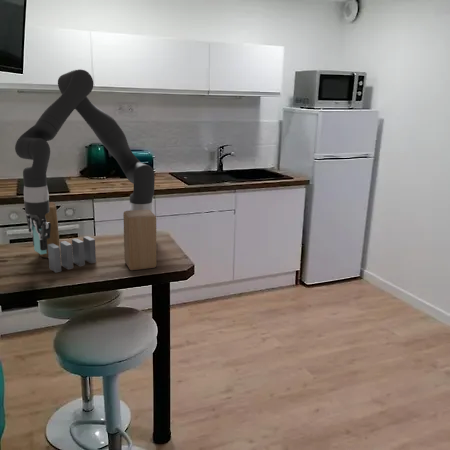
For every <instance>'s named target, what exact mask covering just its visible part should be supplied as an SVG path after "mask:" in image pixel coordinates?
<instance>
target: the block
mask: <svg viewBox="0 0 450 450" xmlns="http://www.w3.org/2000/svg"><path fill="white" fill-rule="evenodd" d="M49 208H50V211H49V213H47V214H46V215H45V217H46V220H47V223H48V222H50V223H51V231H50V238H49V239H47V250H46V252H47V253H46V254H39V256H40V257H41V258H48V259H49V257H48V244H55V245H57V246H59V247H60V235H59V234H60V233H59V232H60V231H59V221H58V211H57V204H56V203H55V202H54V201H49Z"/></svg>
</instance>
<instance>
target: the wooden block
mask: <svg viewBox="0 0 450 450" xmlns="http://www.w3.org/2000/svg"><path fill="white" fill-rule="evenodd" d="M122 217H123V248H124V249H123V250H124V251H123V253H124V256H123V257H124V262H125V264H126V266H127V267H128V269H129V271H138V270H145V269H153V268H154V269H155V268H156V267H157V216H156V215H155V214H154V213H153V211H152V212H151V211H150V210H148V209H146V210H131V211H130V210H125V211H124V212H123V215H122Z"/></svg>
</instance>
